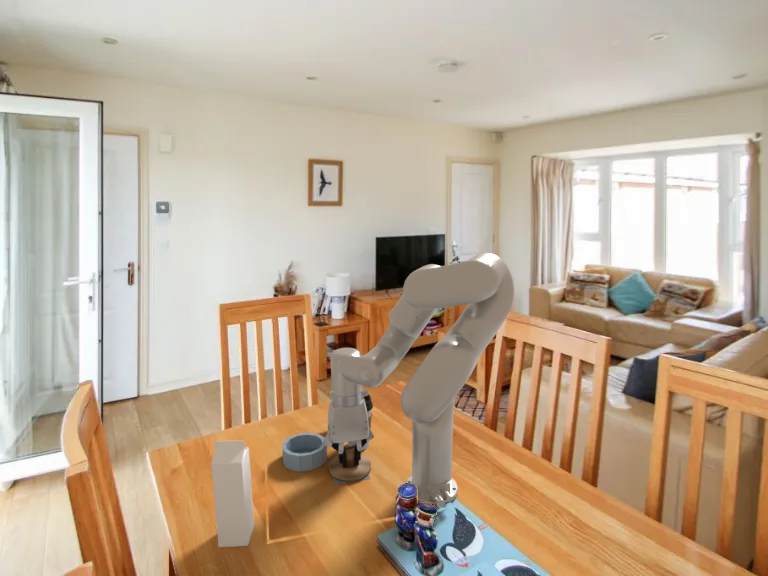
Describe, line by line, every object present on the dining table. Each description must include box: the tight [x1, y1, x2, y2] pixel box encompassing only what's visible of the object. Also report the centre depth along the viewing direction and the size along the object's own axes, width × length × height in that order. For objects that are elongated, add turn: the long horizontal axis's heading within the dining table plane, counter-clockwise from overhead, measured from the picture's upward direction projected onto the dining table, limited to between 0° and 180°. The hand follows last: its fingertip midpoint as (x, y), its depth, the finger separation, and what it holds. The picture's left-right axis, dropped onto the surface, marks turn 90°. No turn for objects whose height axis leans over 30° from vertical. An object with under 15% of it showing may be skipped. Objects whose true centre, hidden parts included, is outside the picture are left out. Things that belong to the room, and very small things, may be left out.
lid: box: [328, 444, 372, 482], centre depth 119 cm, size 11×11×6 cm
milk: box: [210, 439, 255, 548], centre depth 95 cm, size 6×6×22 cm
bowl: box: [281, 432, 328, 472], centre depth 125 cm, size 12×12×5 cm
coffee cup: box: [347, 393, 374, 451], centre depth 131 cm, size 8×8×15 cm
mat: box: [328, 459, 371, 485], centre depth 120 cm, size 11×9×1 cm
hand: (349, 463), depth 120 cm, fingers closed on lid, 2 cm apart
